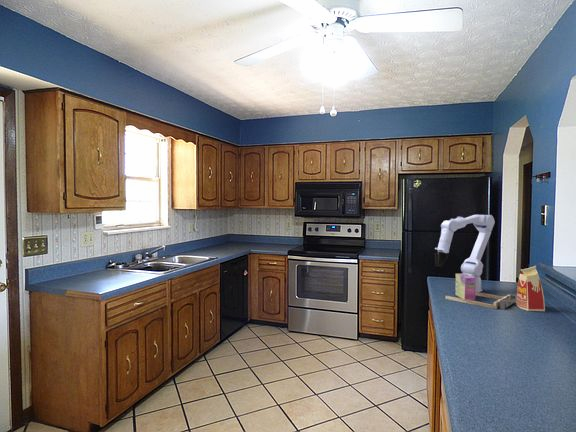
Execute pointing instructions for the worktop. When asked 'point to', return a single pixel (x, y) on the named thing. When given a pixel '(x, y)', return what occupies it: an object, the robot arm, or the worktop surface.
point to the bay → (501, 303)
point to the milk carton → (530, 291)
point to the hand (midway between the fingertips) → (438, 266)
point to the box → (465, 286)
